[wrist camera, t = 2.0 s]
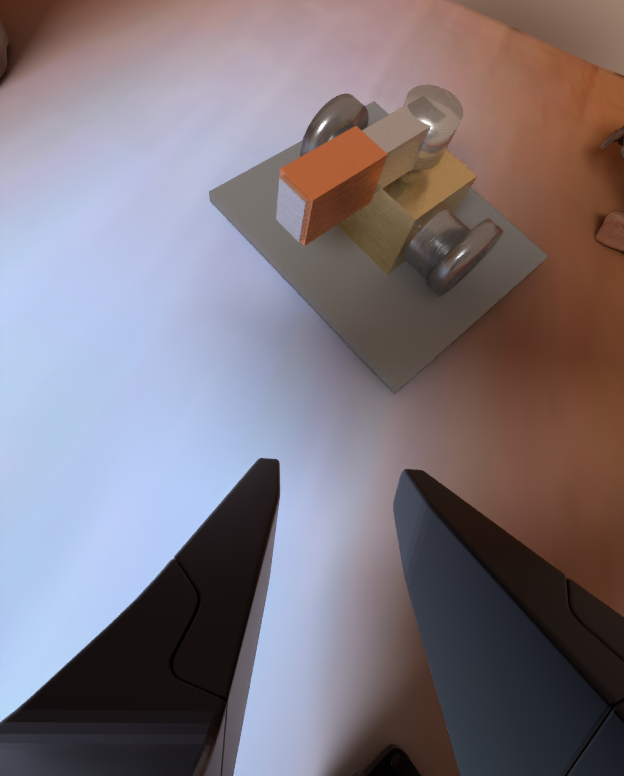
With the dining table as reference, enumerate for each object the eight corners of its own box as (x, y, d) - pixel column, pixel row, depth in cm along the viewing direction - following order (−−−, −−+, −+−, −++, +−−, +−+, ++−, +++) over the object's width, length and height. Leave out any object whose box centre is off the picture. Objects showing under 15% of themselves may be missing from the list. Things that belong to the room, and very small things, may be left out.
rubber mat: (541, 263, 30) (548, 256, 29) (394, 394, 25) (399, 389, 24) (371, 111, 33) (374, 101, 32) (210, 201, 28) (209, 191, 27)
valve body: (476, 267, 28) (530, 201, 22) (424, 310, 26) (469, 250, 21) (350, 150, 30) (372, 64, 24) (294, 183, 28) (304, 98, 23)
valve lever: (414, 125, 23) (434, 73, 21) (450, 158, 23) (476, 108, 20) (267, 213, 20) (270, 164, 17) (307, 254, 20) (316, 209, 17)
